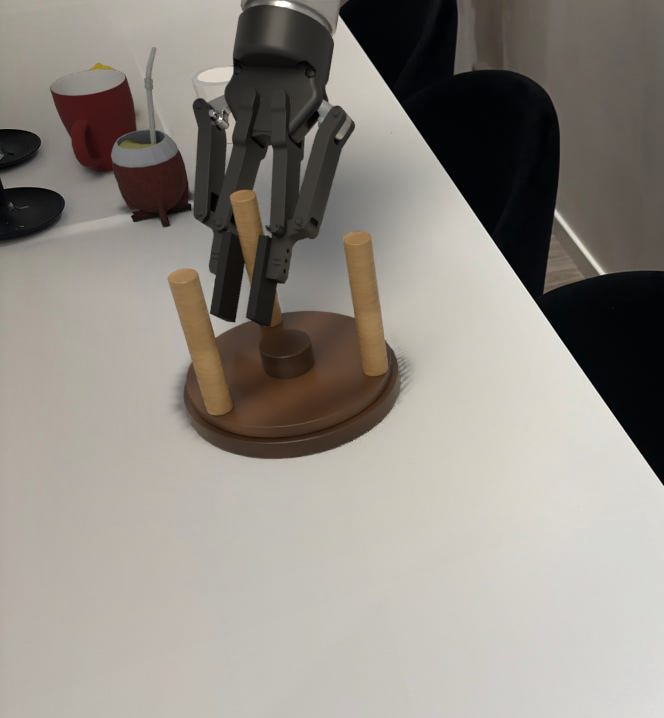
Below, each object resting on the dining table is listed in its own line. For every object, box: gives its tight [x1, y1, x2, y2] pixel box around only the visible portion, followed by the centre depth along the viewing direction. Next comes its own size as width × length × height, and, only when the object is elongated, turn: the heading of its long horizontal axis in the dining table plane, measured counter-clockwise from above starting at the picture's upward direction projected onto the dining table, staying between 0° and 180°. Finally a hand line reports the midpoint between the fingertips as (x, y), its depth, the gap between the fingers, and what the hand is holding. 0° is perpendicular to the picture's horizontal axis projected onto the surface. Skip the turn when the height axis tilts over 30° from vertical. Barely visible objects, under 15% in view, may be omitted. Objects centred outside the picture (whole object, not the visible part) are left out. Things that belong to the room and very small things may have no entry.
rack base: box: [183, 342, 401, 460], centre depth 77 cm, size 17×17×2 cm
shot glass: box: [191, 64, 236, 144], centre depth 115 cm, size 7×7×7 cm
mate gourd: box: [111, 46, 193, 228], centre depth 97 cm, size 8×8×15 cm
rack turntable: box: [167, 190, 392, 438], centre depth 72 cm, size 16×16×12 cm
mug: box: [49, 69, 138, 172], centre depth 106 cm, size 10×8×10 cm
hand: (240, 319), depth 76 cm, fingers open, 2 cm apart
